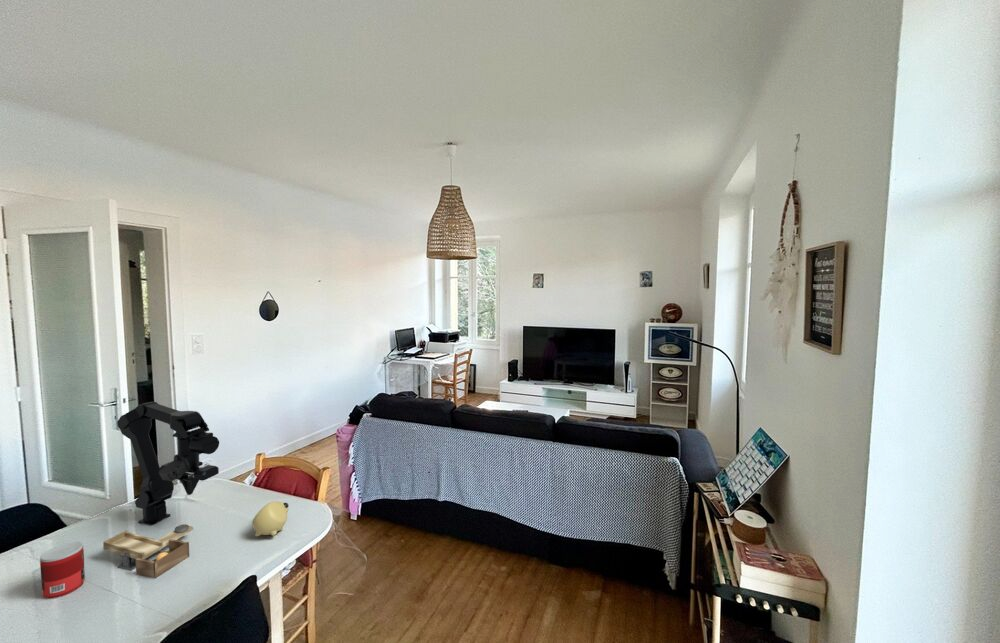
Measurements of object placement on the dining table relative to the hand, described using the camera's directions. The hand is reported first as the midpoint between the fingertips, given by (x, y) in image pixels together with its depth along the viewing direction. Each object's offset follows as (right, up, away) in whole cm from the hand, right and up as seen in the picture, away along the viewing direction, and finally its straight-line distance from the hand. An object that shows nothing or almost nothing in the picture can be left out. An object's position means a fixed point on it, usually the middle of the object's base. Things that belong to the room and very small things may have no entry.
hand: (189, 494), depth 139 cm
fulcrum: (-3, -13, -16) cm, 21 cm away
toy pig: (+28, -13, 0) cm, 31 cm away
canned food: (-13, -14, -28) cm, 34 cm away
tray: (+6, -13, -18) cm, 23 cm away
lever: (-4, -10, -11) cm, 15 cm away
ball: (+5, -11, -18) cm, 22 cm away
